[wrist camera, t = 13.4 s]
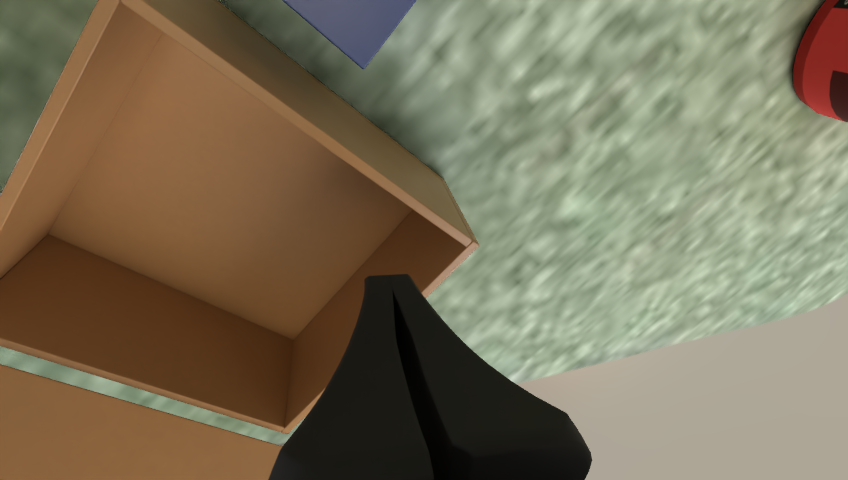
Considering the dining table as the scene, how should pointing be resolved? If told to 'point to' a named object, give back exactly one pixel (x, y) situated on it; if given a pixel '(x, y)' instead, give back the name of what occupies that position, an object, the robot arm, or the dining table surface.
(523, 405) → the robot arm
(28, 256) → the carton
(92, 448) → the flap
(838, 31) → the canned food
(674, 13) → the dining table surface
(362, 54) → the cube
